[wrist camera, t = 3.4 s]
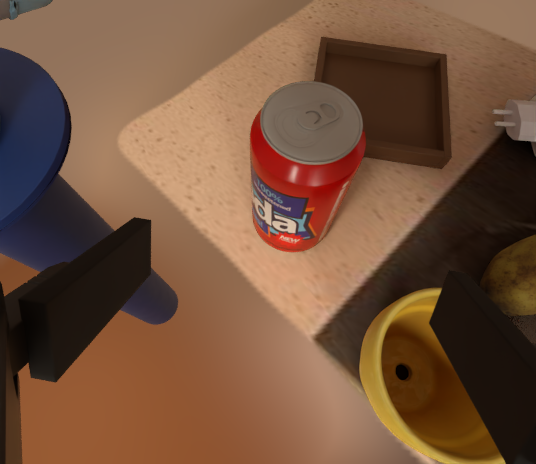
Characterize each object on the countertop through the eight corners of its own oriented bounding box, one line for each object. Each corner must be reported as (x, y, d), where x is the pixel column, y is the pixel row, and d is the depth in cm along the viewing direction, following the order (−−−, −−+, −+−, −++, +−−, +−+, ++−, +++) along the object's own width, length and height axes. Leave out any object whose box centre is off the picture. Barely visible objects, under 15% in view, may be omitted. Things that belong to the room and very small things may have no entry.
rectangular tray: (303, 147, 39) (306, 135, 37) (318, 51, 45) (321, 36, 43) (442, 169, 38) (451, 158, 36) (438, 68, 44) (446, 54, 42)
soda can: (343, 232, 35) (400, 137, 21) (278, 269, 33) (292, 193, 19) (301, 175, 37) (327, 56, 23) (238, 207, 36) (226, 100, 22)
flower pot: (446, 313, 32) (521, 289, 23) (467, 442, 28) (569, 474, 19) (335, 309, 32) (366, 283, 23) (341, 438, 28) (382, 468, 19)
